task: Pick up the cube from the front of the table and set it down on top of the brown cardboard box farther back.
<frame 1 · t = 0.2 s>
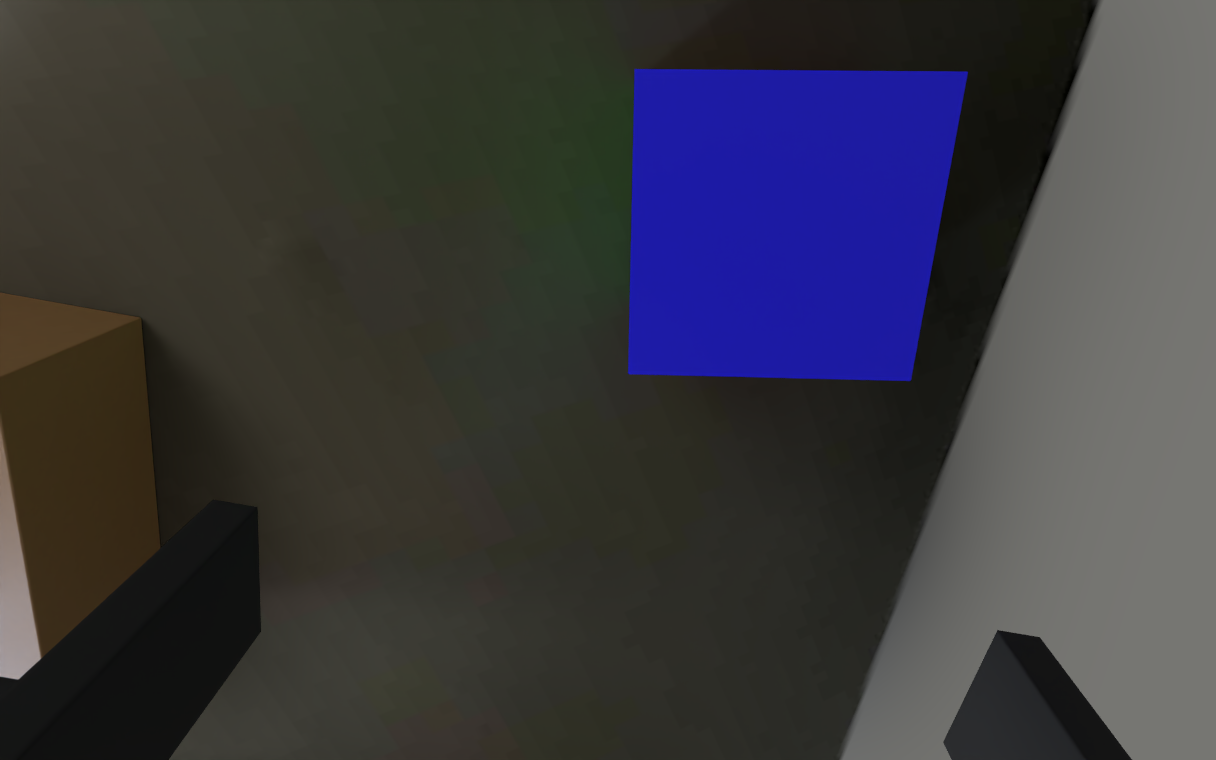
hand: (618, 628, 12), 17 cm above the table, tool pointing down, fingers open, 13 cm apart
cube: (740, 198, 26), on the table
cardboard box: (20, 441, 31), on the table
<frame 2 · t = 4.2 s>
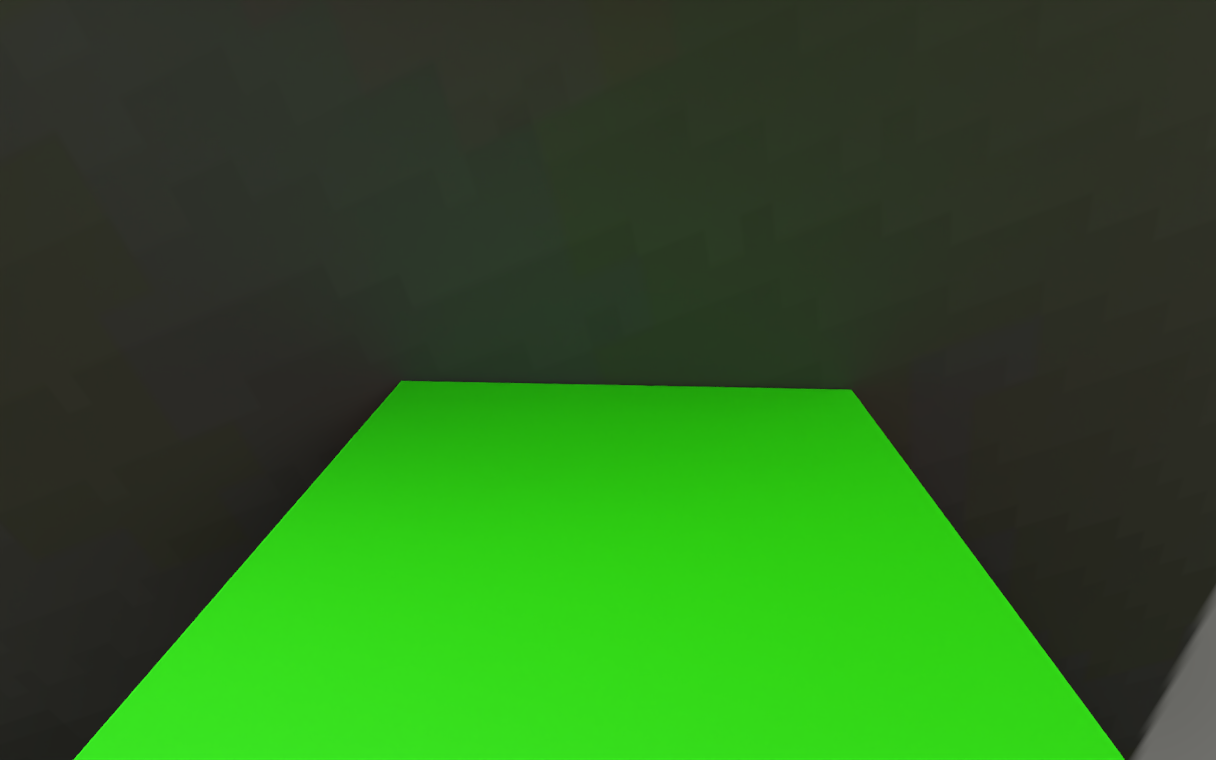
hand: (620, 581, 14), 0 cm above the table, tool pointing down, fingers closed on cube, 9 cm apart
cube: (621, 564, 14), on the table, touching gripper
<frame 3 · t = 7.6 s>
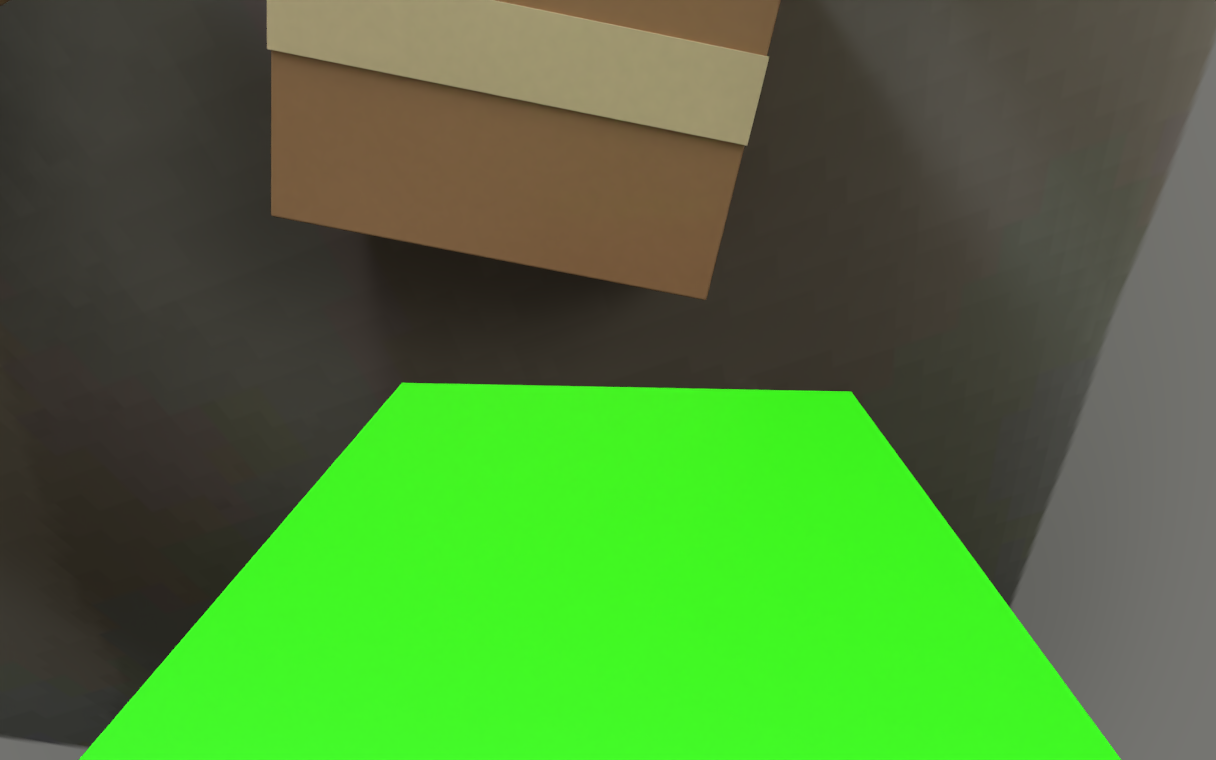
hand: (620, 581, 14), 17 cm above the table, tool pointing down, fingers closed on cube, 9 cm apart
cube: (621, 565, 14), point 17 cm above the table, touching gripper
cardboard box: (546, 66, 26), on the table
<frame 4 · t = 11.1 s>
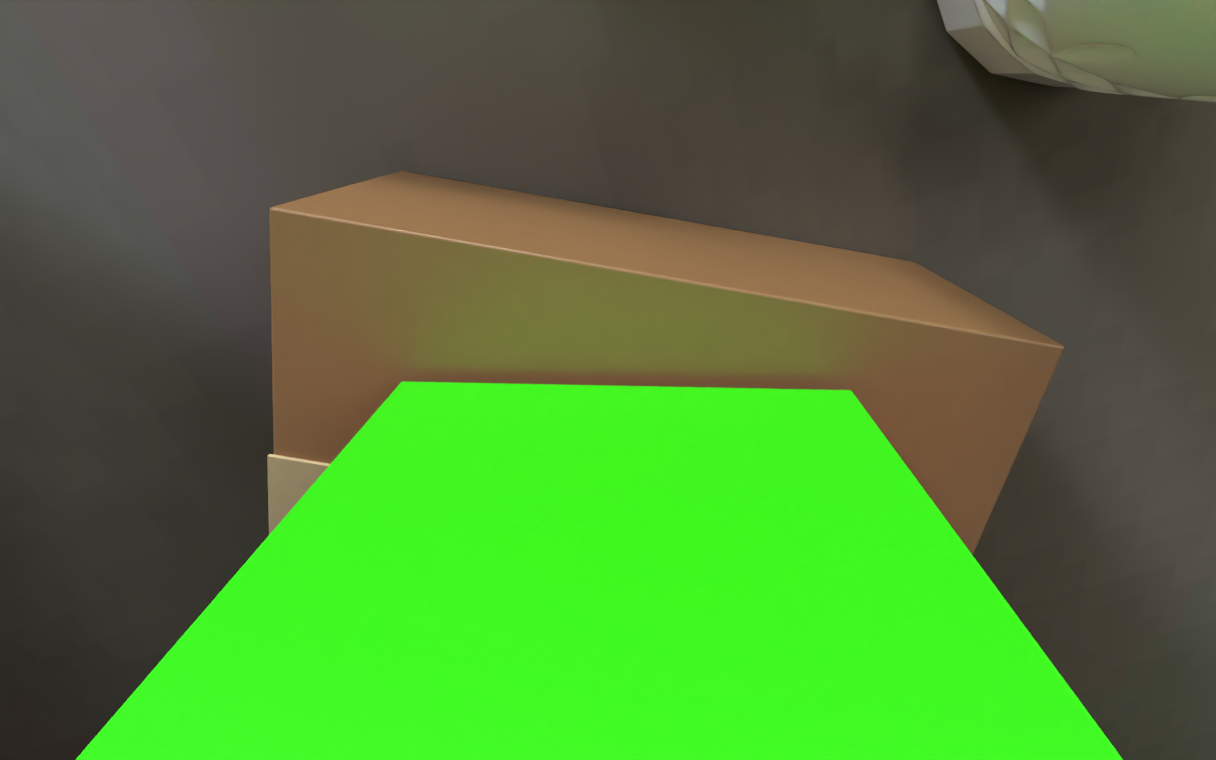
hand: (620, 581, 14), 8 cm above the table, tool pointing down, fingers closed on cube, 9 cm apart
cube: (621, 564, 14), point 7 cm above the table, touching gripper
cardboard box: (621, 417, 21), on the table
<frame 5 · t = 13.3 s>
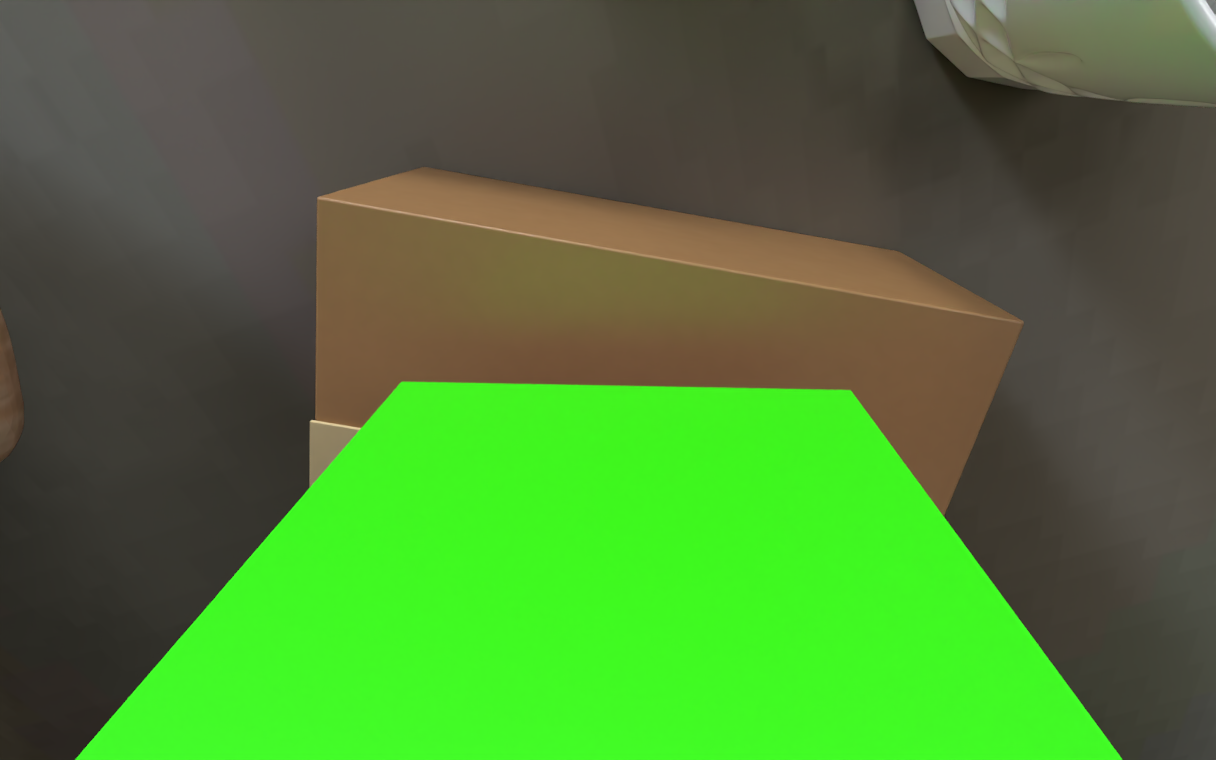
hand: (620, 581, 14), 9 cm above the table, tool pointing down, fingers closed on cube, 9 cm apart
cube: (621, 564, 14), point 9 cm above the table, touching gripper
cardboard box: (626, 397, 22), on the table
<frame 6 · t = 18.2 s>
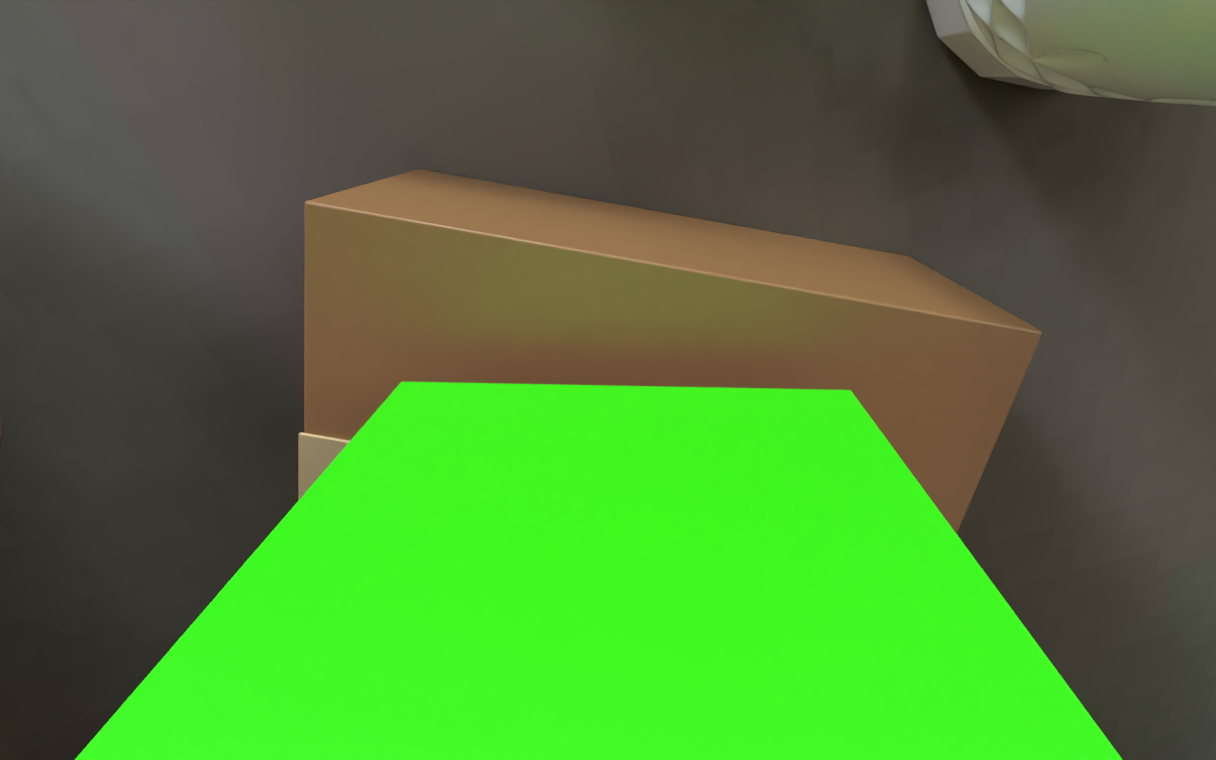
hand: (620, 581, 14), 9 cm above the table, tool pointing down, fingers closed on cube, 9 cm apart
cube: (621, 564, 14), point 8 cm above the table, touching gripper
cardboard box: (627, 405, 21), on the table
when the fingers open (9 cm above the table, at t = 22.5 s): cube drops 2 cm, resting on cardboard box.
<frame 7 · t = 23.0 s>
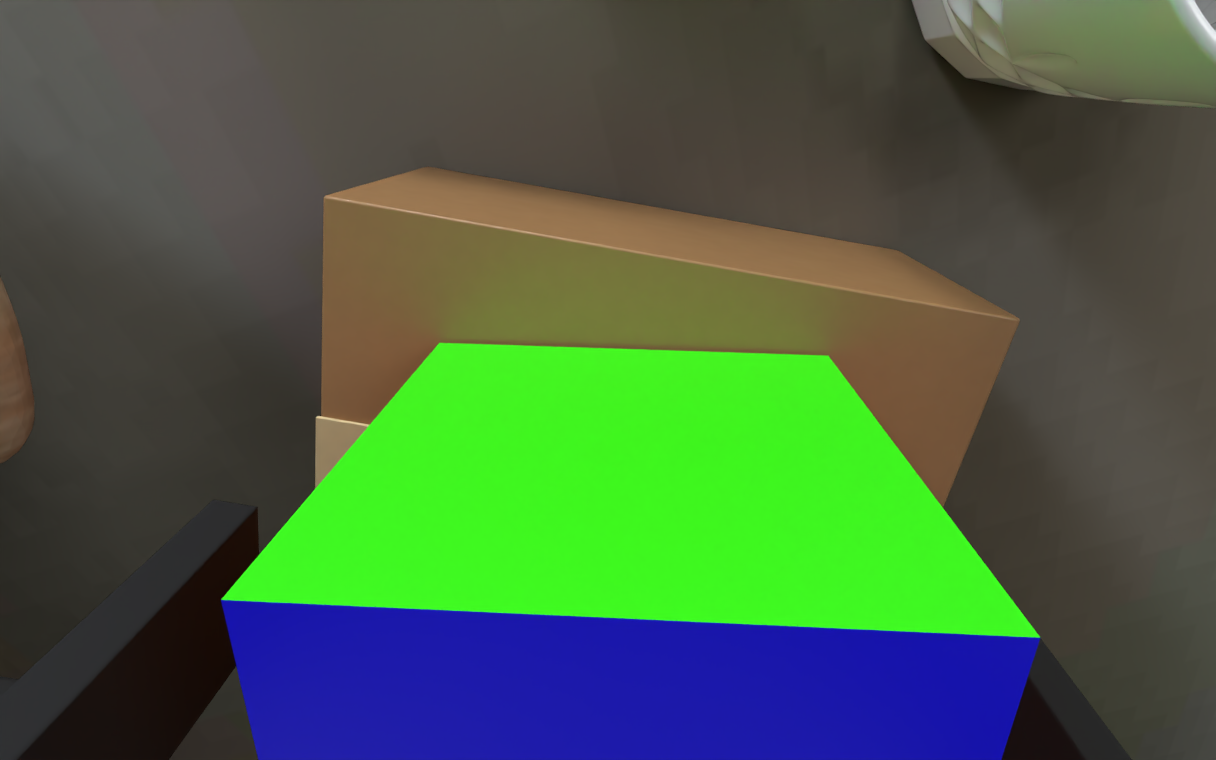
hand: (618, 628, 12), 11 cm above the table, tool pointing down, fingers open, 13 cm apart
cube: (626, 510, 16), point 7 cm above the table, touching cardboard box
cardboard box: (628, 394, 22), on the table
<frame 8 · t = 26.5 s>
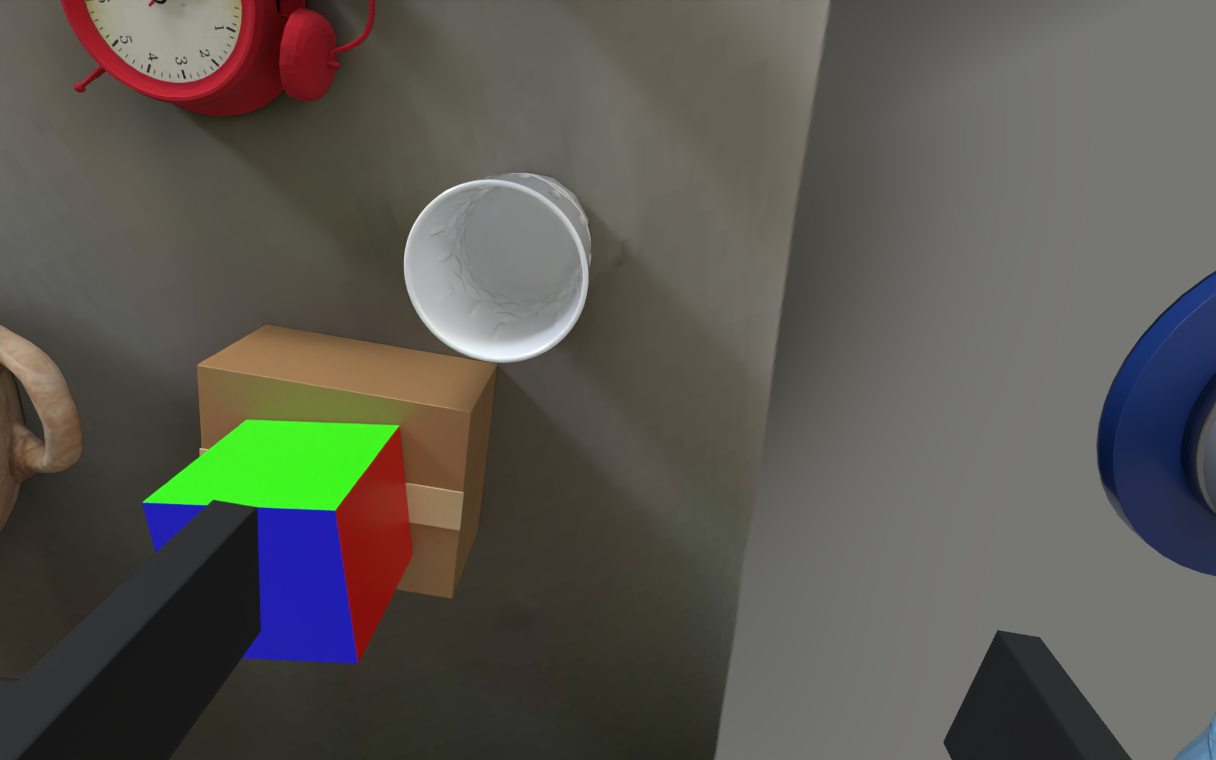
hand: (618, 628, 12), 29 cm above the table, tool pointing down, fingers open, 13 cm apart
alarm clock: (242, 3, 35), on the table
white cup: (531, 234, 39), on the table
cube: (334, 488, 37), point 7 cm above the table, touching cardboard box
cardboard box: (378, 432, 43), on the table
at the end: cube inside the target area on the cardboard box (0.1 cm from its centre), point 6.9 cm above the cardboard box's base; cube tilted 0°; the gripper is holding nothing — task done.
